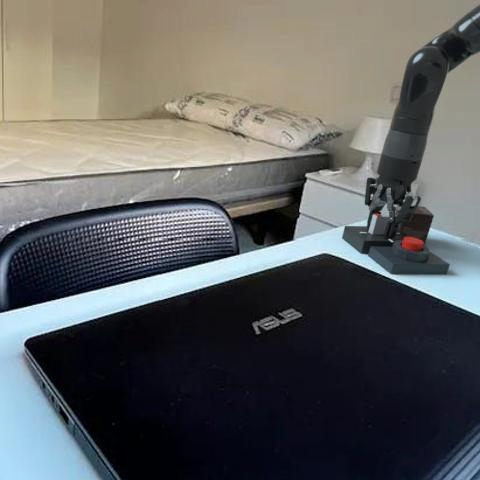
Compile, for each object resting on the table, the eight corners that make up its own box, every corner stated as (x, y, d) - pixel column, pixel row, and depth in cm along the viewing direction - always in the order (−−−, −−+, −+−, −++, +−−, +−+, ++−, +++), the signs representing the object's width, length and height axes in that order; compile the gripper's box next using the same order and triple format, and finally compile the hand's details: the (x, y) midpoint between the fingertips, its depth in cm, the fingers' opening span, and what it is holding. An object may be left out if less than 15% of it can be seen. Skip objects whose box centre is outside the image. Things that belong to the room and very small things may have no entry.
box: (424, 247, 109) (435, 215, 106) (396, 243, 109) (405, 211, 107) (416, 236, 114) (425, 206, 111) (388, 233, 115) (397, 203, 112)
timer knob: (388, 231, 107) (393, 213, 105) (392, 234, 106) (397, 215, 104) (368, 232, 106) (373, 213, 104) (372, 234, 104) (377, 215, 103)
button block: (420, 256, 104) (426, 239, 102) (446, 274, 96) (452, 255, 95) (367, 256, 101) (372, 238, 100) (390, 274, 94) (396, 255, 93)
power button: (413, 244, 99) (416, 236, 99) (425, 252, 96) (428, 244, 95) (397, 244, 99) (400, 236, 98) (408, 252, 95) (411, 244, 95)
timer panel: (389, 238, 112) (393, 225, 111) (414, 255, 104) (419, 241, 102) (340, 237, 110) (343, 224, 109) (362, 255, 102) (366, 241, 100)
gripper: (363, 145, 104) (345, 220, 111) (411, 163, 92) (387, 247, 98) (394, 146, 106) (373, 220, 113) (444, 164, 94) (418, 246, 100)
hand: (380, 232), depth 105 cm, fingers closed on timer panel, 5 cm apart
